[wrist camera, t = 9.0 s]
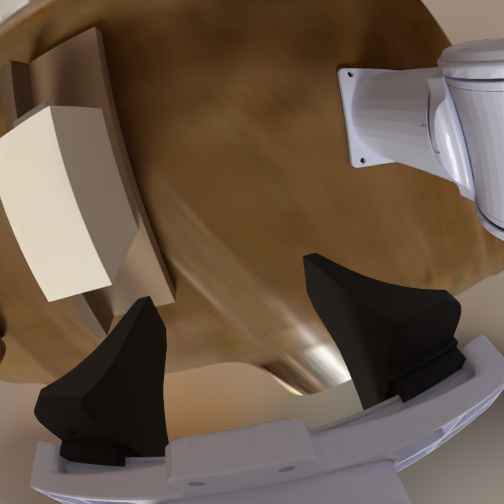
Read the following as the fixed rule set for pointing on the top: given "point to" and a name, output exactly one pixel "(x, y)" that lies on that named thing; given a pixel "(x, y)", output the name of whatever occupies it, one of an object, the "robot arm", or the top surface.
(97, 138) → the cabinet block
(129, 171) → the ledge board
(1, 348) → the tin
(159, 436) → the robot arm
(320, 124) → the top surface
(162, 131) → the top surface
